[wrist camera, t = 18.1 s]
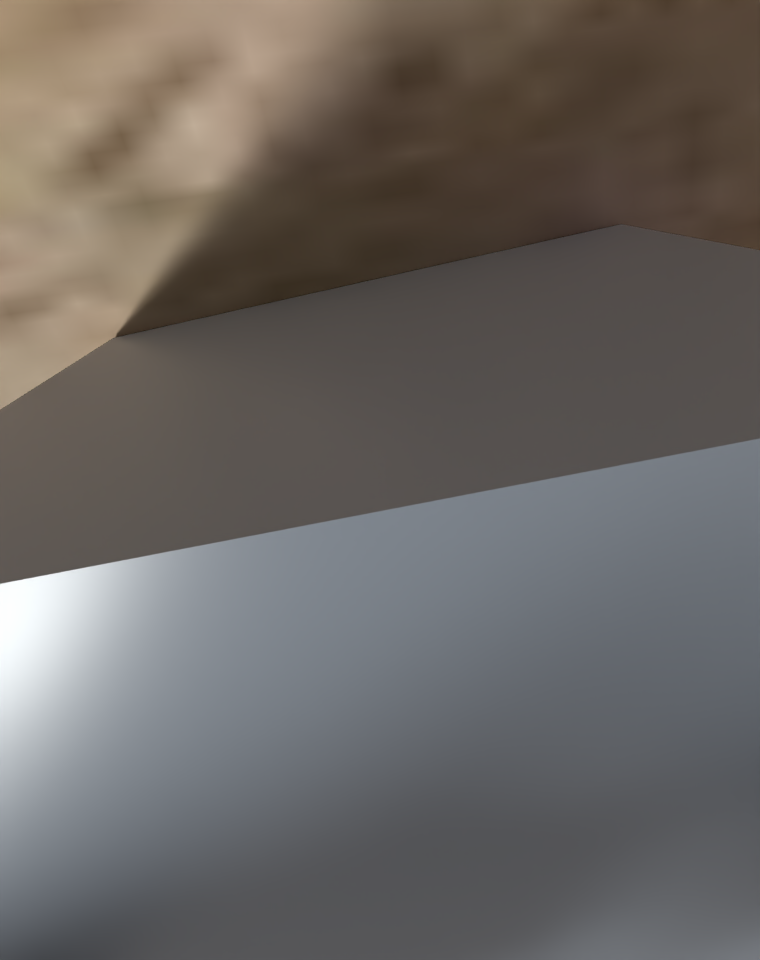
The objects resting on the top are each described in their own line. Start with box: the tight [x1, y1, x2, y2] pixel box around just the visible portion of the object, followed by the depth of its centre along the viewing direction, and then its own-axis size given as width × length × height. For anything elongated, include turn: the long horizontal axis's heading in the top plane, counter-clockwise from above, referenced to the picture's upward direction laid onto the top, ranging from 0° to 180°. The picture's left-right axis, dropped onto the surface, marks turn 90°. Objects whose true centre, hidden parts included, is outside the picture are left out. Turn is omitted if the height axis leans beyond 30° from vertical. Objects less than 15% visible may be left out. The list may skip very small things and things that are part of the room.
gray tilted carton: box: [0, 224, 760, 960], centre depth 10 cm, size 10×10×9 cm
